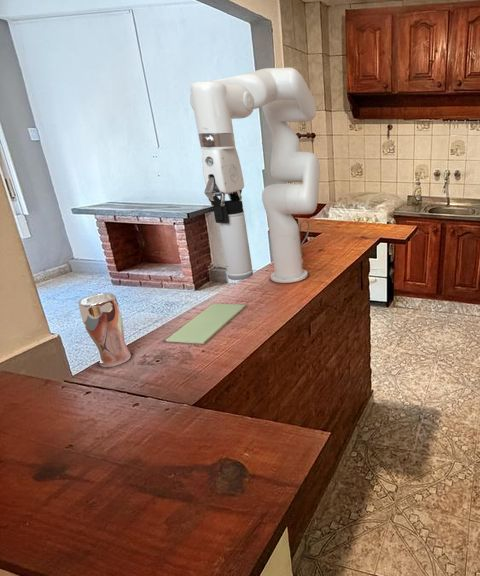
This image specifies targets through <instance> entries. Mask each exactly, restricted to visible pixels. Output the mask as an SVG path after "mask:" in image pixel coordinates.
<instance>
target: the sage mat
mask: <svg viewBox="0 0 480 576" xmlns="http://www.w3.org/2000/svg"><path fill="white" fill-rule="evenodd" d="M245 307H247V305H246V304H237V303H220V302H219V303H215V302H213V303H212V304H211V305H209V306H208V307H206V309H204V310H202V311H201V312H200V313H198V314H197V315H196V316H195V317H193V318H192V319H191V320H189V321H188V322H186V323H185V324H184V325H183V326H181V327H180V328H179V329H177V330H176V331H175V332H174V333H173V334H171V335H170V336H169V337H167V338H165V342H167V343H183V344H199V345H200V344H201V345H204V344H205V343H206V342H207V341H209V340H210V339H211V338H212V337H213V336H215V334H217V333H218V332H219V331H220V330H221V329H222V328H223V327H224V326H226V325H227V324H228V323H229V322H231V320H232V319H233V318H234V317H236V316H237V315H238V314H239V313H240V312H241V311H242V310H243V309H244V308H245Z"/></svg>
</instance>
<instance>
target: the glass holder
mask: <svg viewBox="0 0 480 576" xmlns="http://www.w3.org/2000/svg"><path fill="white" fill-rule="evenodd" d="M293 218H294V219H295V221H296V222H297V224H298V227H299V237H300V238H301V231H302V223H303V222H304V221H306V223H307V231H306V235H305V237H304V238H303V240H300V248H301V249H302V245H303V244H304V243H305V242H306V240H307V239H308V237H309V232H310V222H309V220H308V219H305V218H304V219H303V218H302V219H301V220H300V222H299V218H297V217H293ZM303 256H304V254H303V252H302V250H301V258H303Z"/></svg>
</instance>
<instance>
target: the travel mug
mask: <svg viewBox="0 0 480 576" xmlns="http://www.w3.org/2000/svg"><path fill="white" fill-rule="evenodd" d="M224 206H227V211H228V217H229V222H228V223H218V228H219V235H220V240H221V246H222V252H223V259H224V263H225V269H226V275H227V278H228V279H230V280H231V281H241V280H247V279H249V278H251V277H253V275H254V271H253V265H252V258H251V250H250V244H249V237H248V231H247V224H246V215H245V211H244V205H243V201H242V200H241V201H236V202H232V201H229V200H225V205H224Z"/></svg>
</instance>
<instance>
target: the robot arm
mask: <svg viewBox="0 0 480 576" xmlns="http://www.w3.org/2000/svg"><path fill="white" fill-rule="evenodd" d="M189 89H190V96H189V102H190V106H191V108H192V110H193V112H194V113H193V114H194V118H195V124H196V129H197V135H198V141H199V145H200V150H201V162H202V171H203V172H202V173H203V178H204V183H205V189H204V195H205V196H206V198H207V199H208V201H209V203H210V206H211V207H212V210H213V216H214V220H215V221H214V222H215V223H216V224H219V223H228V222H229V217H228V211H227V206H224V205H225V201H226V195H227V197H228V199H229V200H228V201H232V202H236V201H242V199H243V196H242V192H243V189H244V188H245V181H244V176H243V170H242V166H241V161H240V156H239V154H238V151H237V148H236V141H235V134H234V127H233V121H232V120H238V119H240V120H241V119H244V118H248V117H249V116H251V114H252V113H253V112H254V110H256V109H260V108H261V109H262V112H263V115H264V119H265V120H266V123H267V125H268V128H269V130H270V133H271V136H272V147H271V156H270V175H271V177H272V179H273V180H274V181H276V182H280V183H272V184H268V185H267V186H265V187H264V188H263V190H262V193H261V201H262V204H263V208H264V211H265V215H266V218H267V223H268V230H269V238H270V247H271V255H272V262H273V270H274V271H273V272H272V273H271V274H270V275H269V276H270V280H271V281H273V282H275V283H278V284H290V283H297V282H300V281H303V280H305V279H306V278H307V277H308V276H309V275H308V271H307V270H306V269H303V268H304V267H303V263H304V259H303V257H301V251H302V247H301V248H300V241H301V236H300V237H299V230H300V226H299V227H298V224H299V223H298V224H297V222H296V221H295V219H294V218H295V217H294V216H293V215H312V214H313V213H315V212H316V210H317V207H318V200H319V191H320V190H319V189H320V178H321V166H320V165H321V164H320V161H319V160H320V159H319V158H318V156H317V155H316V154H315V153H313V152H311V151H300V139H299V136H298V135H297V133H296V132H295V131H294V129H293V128H292V127H291V126H290V125H289V124H288V123H308V122H311V121H313V120H314V119H315V118H316V115H317V104H316V100H315V98H314V95H313V94H312V91H311V90H310V88H309V86H308V84H307V82H306V80H305V79H304V77H303V76H302V74H301V73H300V71H298V70H297V69H296V68H294V67H267V68H266V67H265V68H261V69H256V70H255V71H251V72H248V73H243V74H238V75H233V76H229V77H225V78H220V79H215V80H214V79H213V80H201V81H194V82H192V83H191V85H190V88H189Z"/></svg>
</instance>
